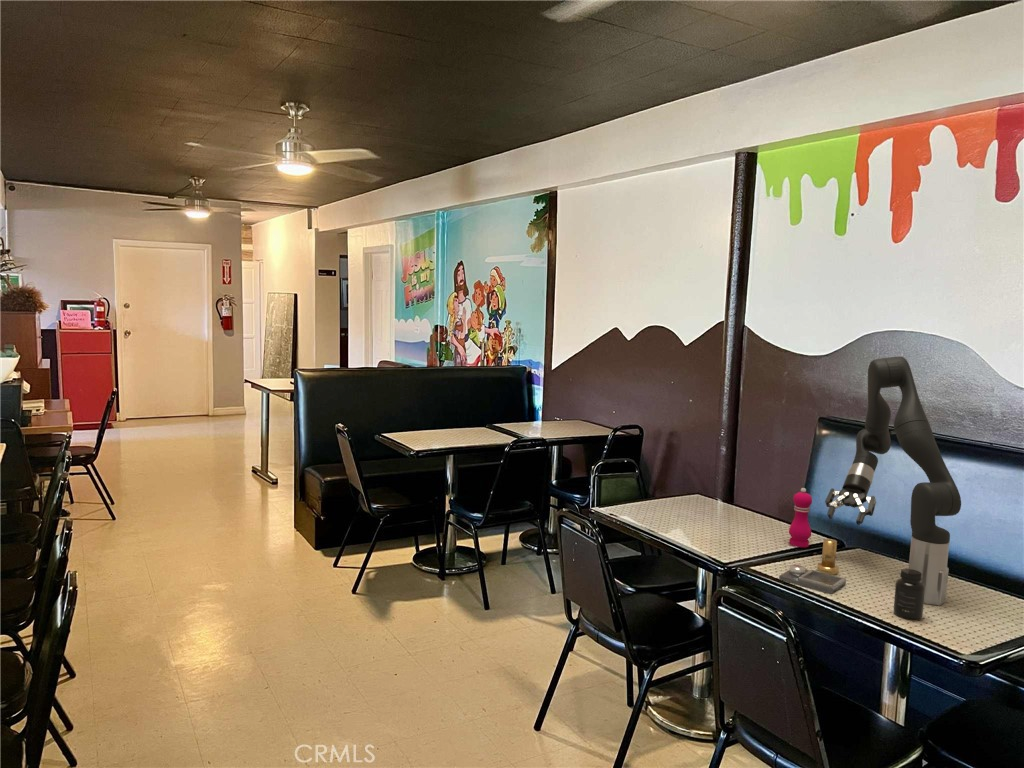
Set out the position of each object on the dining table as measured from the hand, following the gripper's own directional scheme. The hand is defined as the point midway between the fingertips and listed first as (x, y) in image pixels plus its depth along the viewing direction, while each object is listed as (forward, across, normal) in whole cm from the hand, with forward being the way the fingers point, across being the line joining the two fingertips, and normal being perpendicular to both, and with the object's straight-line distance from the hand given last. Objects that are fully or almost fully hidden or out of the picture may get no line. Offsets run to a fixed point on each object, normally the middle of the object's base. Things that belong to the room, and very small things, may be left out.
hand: (843, 520), depth 229 cm
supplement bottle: (+31, +27, -10) cm, 42 cm away
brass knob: (+18, 0, +2) cm, 18 cm away
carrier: (+27, 0, -6) cm, 27 cm away
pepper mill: (+3, -17, +17) cm, 25 cm away
